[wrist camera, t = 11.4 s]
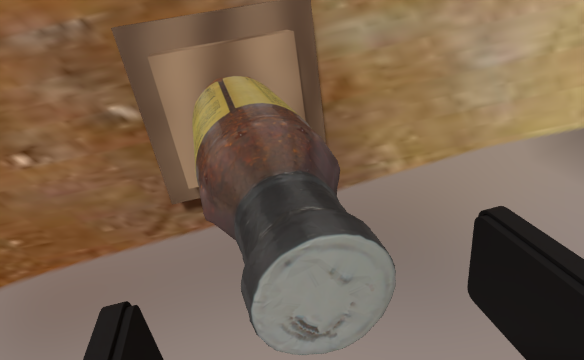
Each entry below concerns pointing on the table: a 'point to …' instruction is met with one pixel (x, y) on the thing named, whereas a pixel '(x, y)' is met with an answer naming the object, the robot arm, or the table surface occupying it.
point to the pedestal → (216, 72)
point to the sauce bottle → (287, 221)
